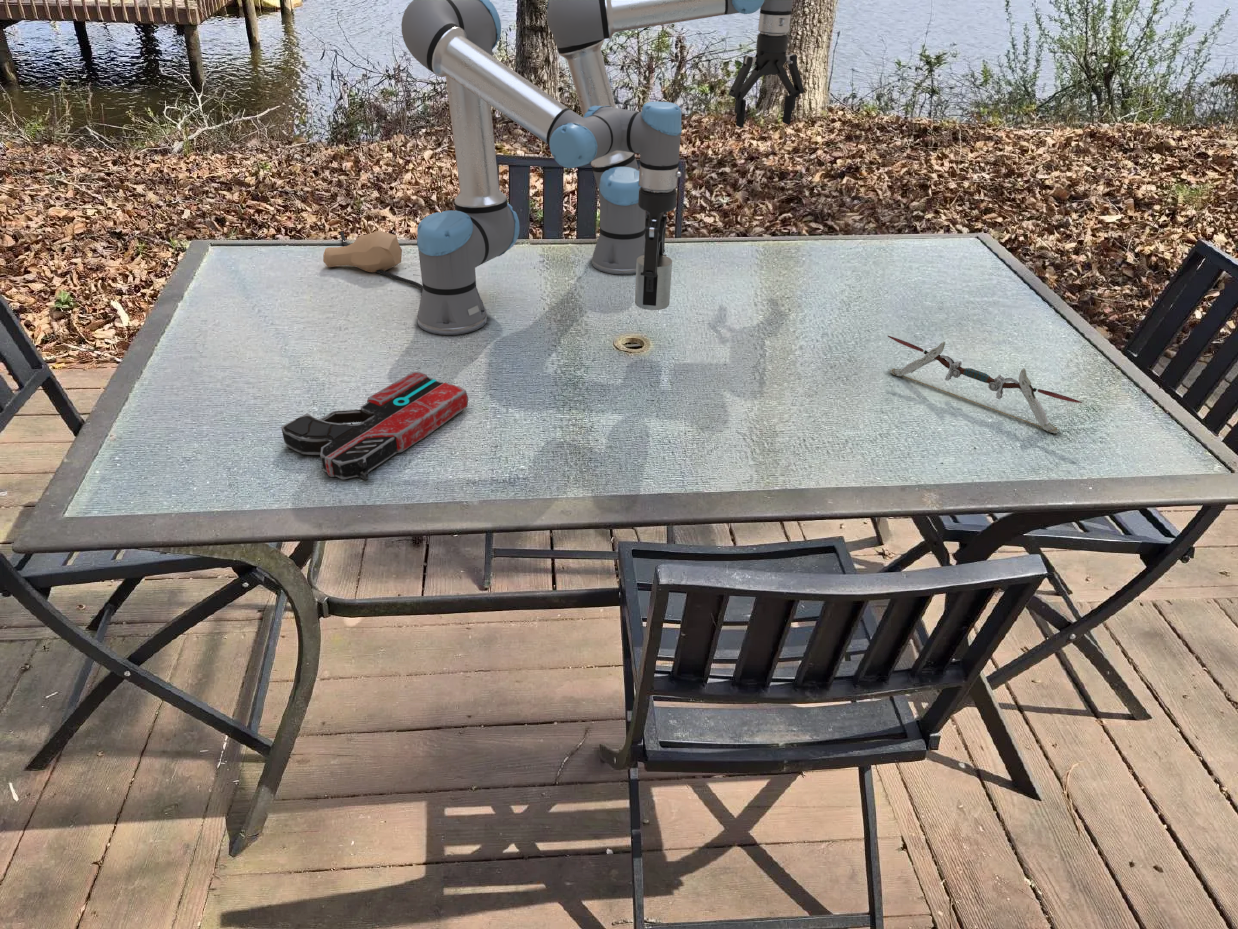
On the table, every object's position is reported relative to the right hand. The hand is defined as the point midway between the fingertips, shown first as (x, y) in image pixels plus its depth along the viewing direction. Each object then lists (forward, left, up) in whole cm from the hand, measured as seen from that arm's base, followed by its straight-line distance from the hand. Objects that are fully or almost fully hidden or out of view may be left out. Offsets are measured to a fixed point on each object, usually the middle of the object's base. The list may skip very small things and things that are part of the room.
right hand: (763, 124), depth 224 cm
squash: (-16, -102, -32) cm, 108 cm away
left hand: (+47, -50, -22) cm, 72 cm away
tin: (+47, -50, -23) cm, 72 cm away
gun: (+64, -110, -32) cm, 132 cm away
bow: (+91, -1, -32) cm, 96 cm away
